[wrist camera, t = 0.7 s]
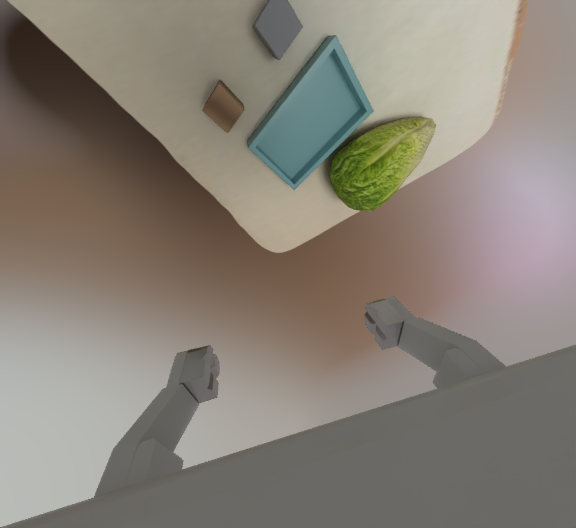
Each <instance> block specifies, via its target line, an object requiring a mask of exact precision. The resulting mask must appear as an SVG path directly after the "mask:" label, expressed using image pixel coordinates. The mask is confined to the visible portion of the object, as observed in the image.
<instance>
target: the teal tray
mask: <svg viewBox="0 0 576 528" xmlns="http://www.w3.org/2000/svg"><path fill="white" fill-rule="evenodd" d="M372 112H373V109H372V107H371V105H370V103H369V101H368V99H367V97H366V95H365V93H364V91H363V89H362V87H361V85H360V83H359V81H358V79H357V77H356V75H355V73H354V70H353V68H352V66H351V64H350V62H349V60H348V58H347V56H346V54H345V52H344V50H343V48H342V46H341V44H340V42H339V40H338V38H337V36H336V35H333V36H327V38H326V39H325V40H324V42H323V43H322V44H321V46H320V47H319V48H318V50H317V51H316V52H315V53H314V55H313V56H312V57H311V59H310V60H309V61H308V63H307V64H306V65H305V67H304V68H303V69H302V70H301V72H300V73H299V74H298V76H297V77H296V78H295V80H294V81H293V82H292V83H291V85H290V86H289V87H288V89H287V90H286V91H285V93H284V94H283V95H282V97H281V98H280V99H279V100H278V102H277V103H276V104H275V106H274V107H273V108H272V110H271V111H270V112H269V114H268V115H267V116H266V117H265V119H264V120H263V121H262V123H261V124H260V125H259V127H258V128H257V129H256V130H255V132H254V133H253V134H252V136H251V137H250V138H249V140H248V141H247V143H248V148H249V149H250V150H251V151H252V152H254V153H255V154H256V155H257V156H258V157H259V158H260V159H261V160H262V161H263V162H264V163H265V164H266V165H267V166H269V167H270V168H271V169H272V170H273V171H274V172H275V173H276V174H277V175H278V176H279V177H280V178H281V179H283V180H284V181H285V182H286V183H287V184H288V185H289V186H290V187H291V188H292V189H293V190H295V189H296V188H297V187H298V186H299V185H300V184H301V183H302V182H303V181H304V180H305V179H306V178H307V177H308V176H309V175H310V174H311V173H312V172H313V171H314V170H315V169H316V168H317V167H318V166H319V165H320V164H321V163H322V162H323V161H324V160H325V159H326V158H327V157H328V156H329V155H330V154H331V153H332V152H333V151H334V150H335V149H336V148H337V147H338V146H339V145H340V144H341V143H342V142H343V141H344V140H345V139H346V138H347V137H348V136H349V135H350V134H351V133H352V132H353V131H354V130H355V129H356V128H357V127H358V126H359V125H360V124H361V123H362V122H363V121H364V120H365V119H366V118H367V117H368V116H369V115H370V114H371V113H372Z"/></svg>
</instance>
